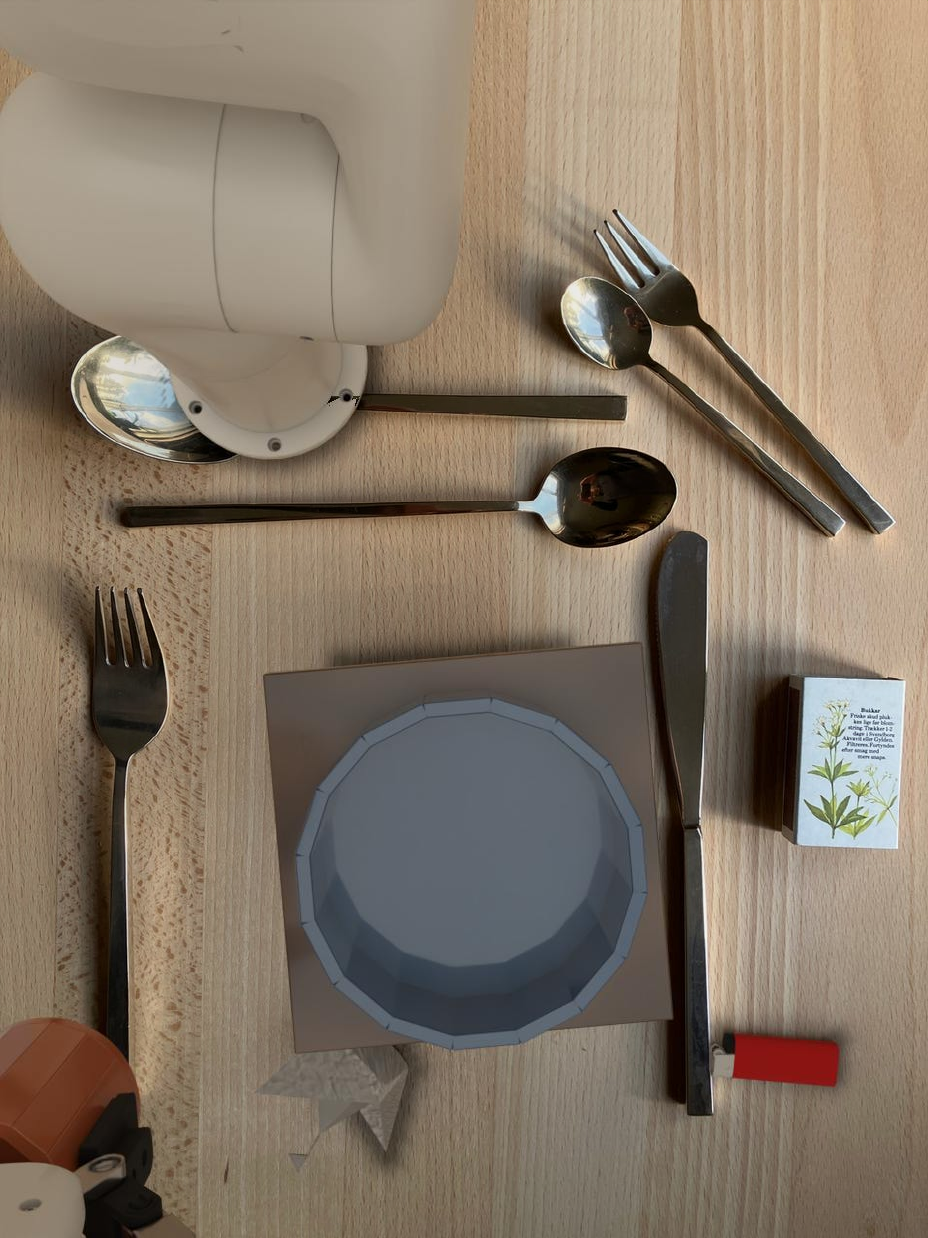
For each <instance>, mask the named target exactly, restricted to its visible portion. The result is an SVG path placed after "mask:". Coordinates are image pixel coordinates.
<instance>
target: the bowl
mask: <svg viewBox="0 0 928 1238" xmlns="http://www.w3.org/2000/svg"><path fill="white" fill-rule="evenodd" d="M641 823H642V822H641V820H640V818H639V816H638V814H637V812H636V810H635V808H634V806H633V804H632V802H631V801H630V799H629V797H628V795H627V793H626V791H625V789H624V787H623V785H622V783H621V781H620V779H619V777H618V775H617V773H616V771H615V769H614V767H613V766H612V764H611V763H610V762H609V761H608V760H607V759H606V758H605V757H604V756H603V755H602V754H600V753H599V752H598V751H597V750H596V749H595V748H594V747H592V746H591V745H590V744H589V743H588V742H586V741H585V740H584V739H583V738H582V737H581V736H579V735H578V734H577V733H576V732H575V731H573V730H572V729H571V728H570V727H569V726H568V725H566V724H565V723H564V722H563V721H562V720H560V719H559V718H558V717H557V716H556V715H555V714H553V713H552V712H551V711H550V710H549V709H547V708H545V707H543V706H540V705H537V704H534V703H530V702H527V701H524V700H521V699H518V698H515V697H511V696H508V695H505V694H502V693H499V692H496V691H493V690H489V689H487V690H486V689H479V690H467V691H455V692H443V693H432V694H426V695H422V696H420V697H418V698H416V699H414V700H412V701H410V702H408V703H407V704H405V705H403V706H401V707H399V708H397V709H395V710H393V711H391V712H389V713H387V714H385V715H383V716H381V717H379V718H377V719H376V720H374V721H372V722H370V723H369V724H368V725H367V726H366V727H365V728H364V730H363V731H362V732H361V733H360V734H359V735H358V737H357V738H356V739H355V740H354V741H353V743H352V744H351V745H350V746H349V747H348V748H347V750H346V751H345V752H344V753H343V754H342V756H341V757H340V758H339V759H338V760H337V761H336V763H335V764H334V765H333V766H332V767H331V769H330V770H329V771H328V773H327V774H326V775H325V777H324V778H323V779H322V781H321V782H320V783H319V785H318V786H317V788H316V789H315V792H314V795H313V798H312V801H311V804H310V807H309V810H308V813H307V817H306V820H305V823H304V826H303V829H302V832H301V835H300V839H299V842H298V845H297V848H296V851H295V854H296V855H295V868H296V880H297V891H298V903H299V915H300V922H301V923H302V924H301V926H302V928H303V930H304V932H305V934H306V936H307V938H308V940H309V942H310V944H311V946H312V948H313V949H314V951H315V953H316V955H317V957H318V959H319V961H320V963H321V965H322V967H323V969H324V971H325V973H326V974H327V976H328V978H329V980H330V982H331V984H332V985H334V987H335V988H336V989H337V990H338V991H340V992H341V993H342V994H343V995H344V996H346V997H347V998H348V999H349V1000H350V1001H352V1002H353V1003H354V1004H355V1005H356V1006H358V1007H359V1008H360V1009H361V1010H362V1011H364V1012H365V1013H366V1014H367V1015H368V1016H370V1017H371V1018H372V1019H373V1020H374V1021H376V1022H377V1023H378V1024H379V1025H380V1026H382V1027H383V1028H384V1029H386V1028H387V1030H388V1031H390V1032H393V1033H397V1034H400V1035H403V1036H406V1037H410V1038H413V1039H416V1040H419V1041H422V1043H426V1044H429V1045H433V1046H435V1047H439V1048H442V1049H445V1050H449V1051H464V1050H475V1049H485V1048H486V1049H487V1048H497V1047H507V1046H519V1045H523V1044H525V1043H527V1042H529V1041H531V1040H533V1039H534V1038H537V1037H538V1036H540V1035H542V1034H544V1033H546V1032H549V1031H548V1030H550V1029H552V1028H554V1027H556V1026H557V1025H559V1024H561V1023H563V1022H565V1021H567V1020H569V1019H571V1018H573V1017H575V1016H577V1015H578V1014H580V1013H582V1011H583V1010H585V1008H586V1007H587V1006H588V1005H589V1004H590V1002H591V1001H592V1000H593V999H594V998H595V996H596V995H597V994H598V993H599V992H600V990H601V989H602V988H603V987H604V986H605V985H606V983H607V982H608V981H609V980H610V979H611V977H612V976H613V975H614V974H615V973H616V971H617V970H618V969H619V968H620V967H621V965H622V964H623V963H624V962H625V961H626V958H628V955H629V952H630V949H631V946H632V943H633V940H634V936H635V933H636V930H637V927H638V924H639V921H640V918H641V915H642V911H643V908H644V905H645V902H646V899H647V896H648V893H647V892H648V883H647V871H646V859H645V847H644V835H643V826H642V824H641Z"/></svg>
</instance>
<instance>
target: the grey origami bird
mask: <svg viewBox="0 0 928 1238" xmlns="http://www.w3.org/2000/svg"><path fill="white" fill-rule="evenodd" d="M409 1070H410V1067H409V1065H408V1064H407V1062H406V1061H405V1059H404V1057H403V1056H402V1054H401V1053H400V1052H399V1051H398V1050H397V1049H396V1048H395V1047H394V1045H389V1046H378V1047H367V1048H357V1049H346V1050H335V1051H324V1052H313V1053H302V1054H294V1056H292V1057H291V1058H290V1059H289V1060H288V1061H287V1062H285V1064H284V1065H283V1066H282V1067H281V1068H279V1069H278V1070H277V1071H276V1072H275V1073H274V1074H273V1075H272V1076H271V1077H270V1078H268V1079H267V1080H266V1081H265V1082H264V1083H263V1084H262V1085H261V1086H259V1088H258V1089H256V1091H254V1093H253V1095H265V1096H267V1095H268V1096H277V1097H278V1096H279V1097H290V1098H300V1099H301V1098H303V1099H313V1100H318V1134H317V1136H316V1138H315V1140H314V1141H313V1143H312V1144H311V1147H310V1148H309V1150H308V1151H307V1153H305V1154H304V1153H290V1152H288V1155H289V1158H290V1159H291V1162H292V1163H293V1166H294V1168H295V1170H296V1172H297V1173H300V1171H301V1170H302V1168H303V1166H304V1164H305V1163H306V1161H307V1159H308V1157H309V1155H310V1154H311V1152H312V1150H313V1149H314V1147H315V1145H316V1144H317V1142H318V1140H319V1138H320V1136H321V1135H322V1134H324V1133H325V1132H327V1131H329V1130H330V1129H332V1128H333V1127H335V1126H336V1125H338V1124H340V1123H341V1122H343V1121H344V1120H346V1119H347V1118H349V1117H351V1116H353V1115H354V1114H356V1113H357V1112H360V1113H361V1115H362V1116H363V1118H364V1120H365V1121H366V1123H367V1125H368V1126H369V1127H370V1129H371V1130H372V1132H373V1134H374V1135H375V1137H376V1138H377V1140H378V1141H379V1143H380V1144H381V1146H382V1148H383V1149H384V1151H385V1152H386V1153H387V1151H388V1147H389V1144H390V1140H391V1137H392V1132H393V1129H394V1126H395V1122H396V1118H397V1115H398V1111H399V1107H400V1104H401V1099H402V1095H403V1092H404V1088H405V1084H406V1081H407V1077H408V1073H409Z"/></svg>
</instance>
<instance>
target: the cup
mask: <svg viewBox="0 0 928 1238" xmlns="http://www.w3.org/2000/svg"><path fill="white" fill-rule="evenodd" d="M122 1053H123V1052H121V1050H120V1049H119V1048H118V1047H117V1046H116V1045H115V1044H114V1043H113V1042H112V1041H111V1040H110V1039H109V1038H107V1036H105V1035H104V1034H102V1033H100V1032H99V1031H97V1030H95V1028H92V1027H90V1026H88V1025H86V1024H84V1023H81V1022H78V1021H75V1020H71V1019H67V1018H61V1017H53V1016H52V1017H50V1016H49V1017H48V1016H47V1017H34V1018H28V1019H24V1020H20V1021H17V1022H14V1023H12V1024H9V1025H7V1026H4V1027H3V1028H1V1029H0V1164H7V1163H46V1164H51V1165H55V1166H59V1167H62V1168H64V1169H67V1170H69V1171H71V1172H74V1171H76V1170H77V1169H79V1165H78V1152H79V1148H80V1146H81V1144H82V1143H83V1141H84V1140H85V1138H86V1137H87V1135H88V1134H89V1132H90V1131H91V1129H92V1128H93V1126H94V1125H95V1123H96V1122H97V1120H98V1119H99V1117H100V1116H101V1114H102V1113H103V1111H104V1110H105V1108H106V1107H107V1105H108V1104H109V1102H110V1101H111V1099H112V1098H116V1096H117V1095H118V1094H119V1093H130V1092H134V1093H135V1096H136V1104H137V1115H138V1126H139V1127H140V1124H141V1123H140V1122H141V1114H142V1111H141V1110H142V1109H141V1108H142V1107H141V1105H142V1104H141V1096H140V1089H139V1086H138V1083H137V1079H136V1077H135V1074H134V1072H133V1070H132V1067H131V1065H130V1063H129V1062H128V1060H127V1059H126V1058H125V1056H124V1054H122ZM84 1237H85V1235H83V1234H82V1236H81V1238H84Z"/></svg>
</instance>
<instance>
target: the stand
mask: <svg viewBox="0 0 928 1238" xmlns="http://www.w3.org/2000/svg"><path fill="white" fill-rule="evenodd" d="M644 659H645V658H644V649H643V643H642V642H641V641H622V642H609V643H599V644H587V645H576V646H575V645H574V646H563V647H562V646H561V647H551V648H540V649H527V650H516V651H504V652H493V653H492V652H491V653H480V654H470V655H469V654H468V655H458V656H457V655H456V656H446V657H444V656H443V657H432V658H422V659H421V658H420V659H409V660H397V661H386V662H373V663H364V664H352V665H349V664H348V665H340V666H329V667H328V666H327V667H315V668H304V669H292V670H291V669H290V670H281V671H280V670H278V671H270V672H266V673H263V674H262V682H263V691H264V692H263V695H264V705H265V718H266V719H265V720H266V729H267V731H266V732H267V739H268V741H267V742H268V752H269V753H268V754H269V765H270V776H271V789H272V790H271V791H272V800H273V801H272V802H273V811H274V812H273V813H274V824H275V825H274V826H275V837H276V845H277V846H276V847H277V848H276V849H277V859H278V870H279V871H278V872H279V882H280V883H279V884H280V895H281V907H282V918H283V929H284V930H283V931H284V941H285V953H286V964H287V966H286V967H287V976H288V989H289V1001H290V1002H289V1003H290V1011H291V1012H290V1013H291V1024H292V1035H293V1046H294V1047H293V1049H294V1055H296V1054H302V1053H313V1052H324V1051H335V1050H346V1049H357V1048H367V1047H378V1046H389V1045H392V1046H398V1045H409V1044H410V1045H411V1044H421V1043H423V1042H422V1041H419V1040H416V1039H413V1038H410V1037H406V1036H403V1035H400V1034H397V1033H393V1032H390V1031H388V1030H387V1028H386V1029H384V1028H383V1027H382V1026H380V1025H379V1024H378V1023H377V1022H376V1021H374V1020H373V1019H372V1018H371V1017H370V1016H368V1015H367V1014H366V1013H365V1012H364V1011H362V1010H361V1009H360V1008H359V1007H358V1006H356V1005H355V1004H354V1003H353V1002H352V1001H350V1000H349V999H348V998H347V997H346V996H344V995H343V994H342V993H341V992H340V991H338V990H337V989H336V988H335V987H334V985H332V984H331V982H330V980H329V978H328V976H327V974H326V973H325V971H324V969H323V967H322V965H321V963H320V961H319V959H318V957H317V955H316V953H315V951H314V949H313V948H312V946H311V944H310V942H309V940H308V938H307V936H306V934H305V932H304V930H303V928H302V926H301V924H302V923H301V922H300V915H299V903H298V891H297V880H296V868H295V855H296V854H295V851H296V848H297V845H298V842H299V839H300V835H301V832H302V829H303V826H304V823H305V820H306V817H307V813H308V810H309V807H310V804H311V801H312V798H313V795H314V792H315V789H316V788H317V786H318V785H319V783H320V782H321V781H322V779H323V778H324V777H325V775H326V774H327V773H328V771H329V770H330V769H331V767H332V766H333V765H334V764H335V763H336V761H337V760H338V759H339V758H340V757H341V756H342V754H343V753H344V752H345V751H346V750H347V748H348V747H349V746H350V745H351V744H352V743H353V741H354V740H355V739H356V738H357V737H358V735H359V734H360V733H361V732H362V731H363V730H364V728H365V727H366V726H367V725H368V724H369V723H370V722H372V721H374V720H376V719H377V718H379V717H381V716H383V715H385V714H387V713H389V712H391V711H393V710H395V709H397V708H399V707H401V706H403V705H405V704H407V703H408V702H410V701H412V700H414V699H416V698H418V697H420V696H422V695H426V694H432V693H443V692H455V691H467V690H479V689H486V690H487V689H489V690H493V691H496V692H499V693H502V694H505V695H508V696H511V697H515V698H518V699H521V700H524V701H527V702H530V703H534V704H537V705H540V706H543V707H545V708H547V709H549V710H550V711H551V712H552V713H553V714H555V715H556V716H557V717H558V718H559V719H560V720H562V721H563V722H564V723H565V724H566V725H568V726H569V727H570V728H571V729H572V730H573V731H575V732H576V733H577V734H578V735H579V736H581V737H582V738H583V739H584V740H585V741H586V742H588V743H589V744H590V745H591V746H592V747H594V748H595V749H596V750H597V751H598V752H599V753H600V754H602V755H603V756H604V757H605V758H606V759H607V760H608V761H609V762H610V763H611V764H612V766H613V767H614V769H615V771H616V773H617V775H618V777H619V779H620V781H621V783H622V785H623V787H624V789H625V791H626V793H627V795H628V797H629V799H630V801H631V802H632V804H633V806H634V808H635V810H636V812H637V814H638V816H639V818H640V820H641V822H642V823H641V824H642V826H643V835H644V847H645V859H646V871H647V883H648V892H647V893H648V896H647V899H646V902H645V905H644V908H643V911H642V915H641V918H640V921H639V924H638V927H637V930H636V933H635V936H634V940H633V943H632V946H631V949H630V952H629V955H628V958H626V961H625V962H624V963H623V964H622V965H621V967H620V968H619V969H618V970H617V971H616V973H615V974H614V975H613V976H612V977H611V979H610V980H609V981H608V982H607V983H606V985H605V986H604V987H603V988H602V989H601V990H600V992H599V993H598V994H597V995H596V996H595V998H594V999H593V1000H592V1001H591V1002H590V1004H589V1005H588V1006H587V1007H586V1008H585V1010H583V1011H582V1013H580V1014H578V1015H577V1016H575V1017H573V1018H571V1019H569V1020H567V1021H565V1022H563V1023H561V1024H559V1025H557V1026H556V1027H554V1028H552V1029H550V1030H548V1031H547V1032H552V1031H562V1030H563V1031H564V1030H573V1029H583V1028H594V1027H605V1026H606V1027H607V1026H614V1025H615V1026H617V1025H628V1024H629V1025H630V1024H639V1023H640V1024H641V1023H651V1022H660V1021H672V1020H674V1007H673V997H672V996H673V995H672V984H671V971H670V960H669V948H668V937H667V926H666V925H667V924H666V923H667V922H666V912H665V900H664V888H663V878H662V877H663V876H662V866H661V852H660V841H659V840H660V839H659V829H658V827H659V826H658V817H657V806H656V805H657V804H656V803H657V802H656V795H655V793H656V791H655V779H654V769H653V756H652V744H651V733H650V732H651V731H650V720H649V709H648V706H649V705H648V696H647V683H646V672H645V660H644Z"/></svg>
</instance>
